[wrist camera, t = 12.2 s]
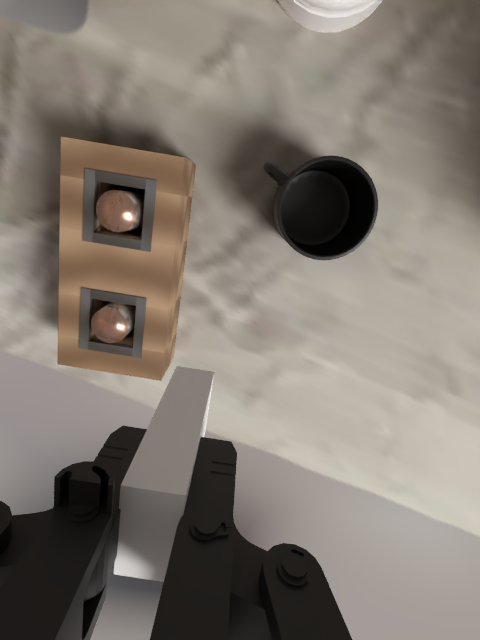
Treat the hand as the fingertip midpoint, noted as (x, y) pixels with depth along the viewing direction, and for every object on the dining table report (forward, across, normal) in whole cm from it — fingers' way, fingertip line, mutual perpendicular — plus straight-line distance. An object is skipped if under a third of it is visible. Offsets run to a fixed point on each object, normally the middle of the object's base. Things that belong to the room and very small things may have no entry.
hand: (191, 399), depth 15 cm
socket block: (+32, -12, -1) cm, 35 cm away
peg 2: (+32, -12, -7) cm, 35 cm away
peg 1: (+32, -12, +5) cm, 34 cm away
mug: (+33, +7, +9) cm, 35 cm away
